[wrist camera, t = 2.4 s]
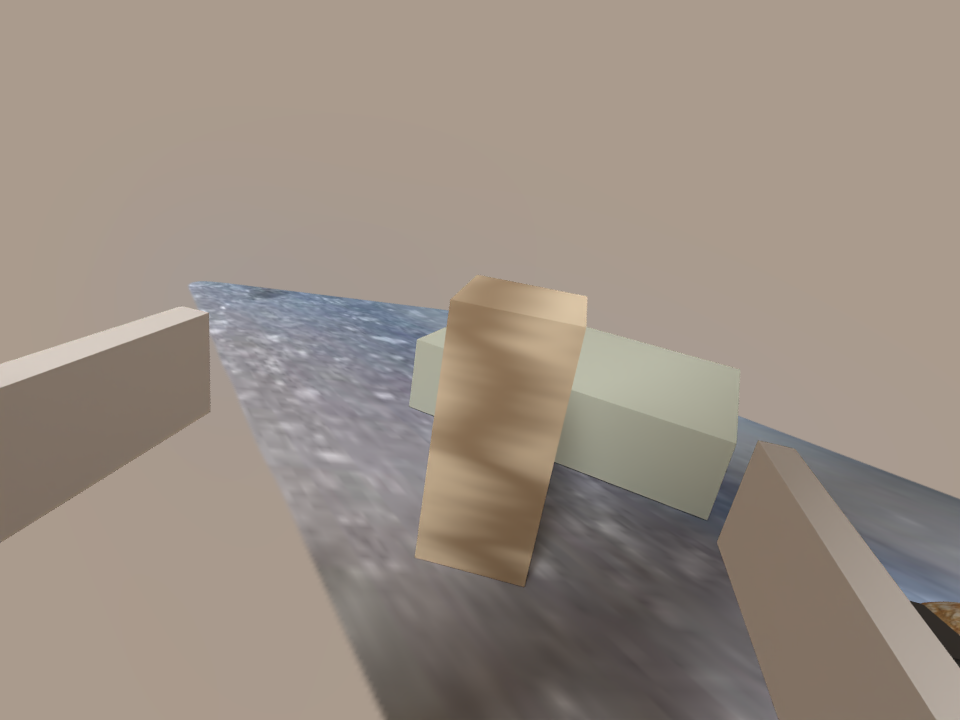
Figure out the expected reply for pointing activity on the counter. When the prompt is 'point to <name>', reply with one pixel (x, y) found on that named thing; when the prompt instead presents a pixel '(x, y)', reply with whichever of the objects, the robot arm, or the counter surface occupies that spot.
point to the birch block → (498, 424)
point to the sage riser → (633, 417)
